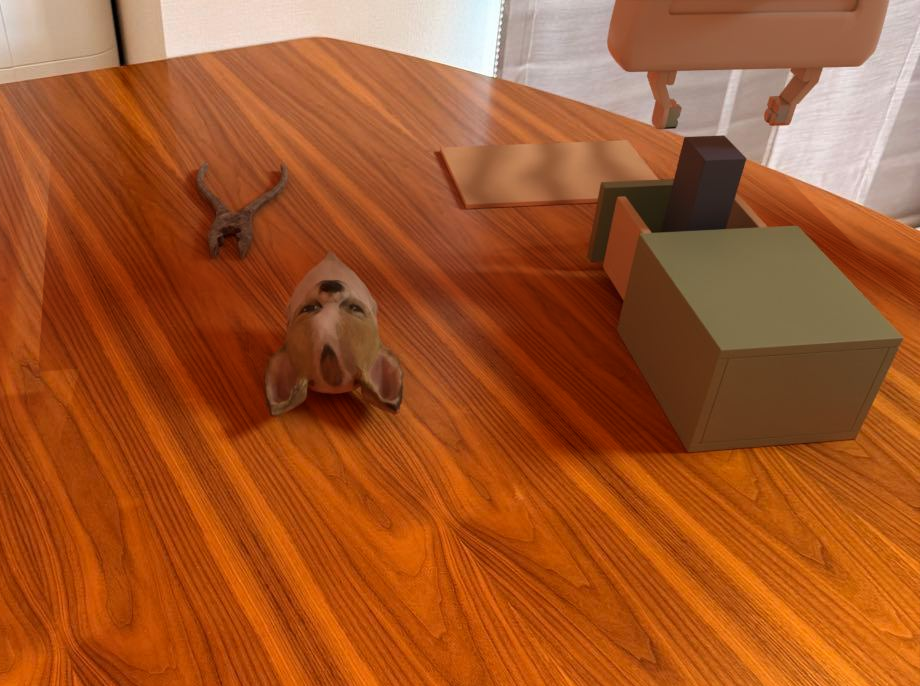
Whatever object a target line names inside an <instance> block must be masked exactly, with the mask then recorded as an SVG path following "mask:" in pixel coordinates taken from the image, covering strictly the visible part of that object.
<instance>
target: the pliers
mask: <svg viewBox="0 0 920 686" xmlns="http://www.w3.org/2000/svg"><path fill="white" fill-rule="evenodd" d="M199 167H200V168H199V169H198V170H197V173H196V178H195V183H196V188H197V190H198V192H199V193H200V195H201V196H202V197H203V198H204V199H205V200H206V201H207V203H209V205H210V206H211V207H212V208H213V209H214V211H215V213H216V214H215V218H214V220H213V221H212V224H211V226H210V228H209V230H208V233H207V234H206V237H207V238H206V240H207V245H208V248H209V249H208V250H209V255H210V258H211V259H214V258H215V257H216V255H217V254H218V252H219V247H220V246H221V245H223V244H224V242H225V238H224V237H227V236H229V235H234V236H235V240H236V245H237V249H238V254H239V258H240V259H244V258H245V255H246V253H247V252H248V250H249V248H250V246H251V244H252V243H253V240H254V236H253V235H254V234H253V231H252V222H253V218H254V215H255V214H256V212H257V211H259V210H260V209H261V208H263V207H264V206H265V205H266V204H268V203H269V202H271V201H272V200H273V199H275V198H276V197H277V196H278V195H280V194H281V192H282V191H283V190H284V189H285V187H286V185H287V182H288V178H289V177H288V169H287V166H286V164H284V163H281V164H280V165H279V169H280V174H281V175H280V179H279V180H278V182H277V184H276V185H275V186H274V187H273V188H271V189H270V190H268V191H266V192H265V193H263V194H262V195H260V196H258V197H257V198H256V199H254V200H252V201H251V202H249V203H248V204H247V205H245V206H244V207H243V208H241V210H238V211H231V210H229V208H228V207H227V205H226V204H225V203H224V201H222V200H221V199H220V198H219V197H218V196H216V195H215V193H213V192H212V191H211V190H210V189H208V187H207V186H206V185H205V183H204V176H205V174H206V172H207V171H208V169H209V164H208V162H207V161H205V162H203V163H202V164H201V165H200V166H199Z"/></svg>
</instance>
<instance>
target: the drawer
mask: <svg viewBox="0 0 920 686" xmlns="http://www.w3.org/2000/svg"><path fill="white" fill-rule="evenodd" d="M673 181H674V178H665V179H663V178H662V179H659V180H638V181H615V182H601V185H600V190H599V195H598V201H597V203H596V206H595V212H594V217H593V223H592V226H591V227H592V228H591V232H590V238H589V243H588V248H587V252H586V258H587V260H588V261H589V263H590V264H596V263H597V264H599V263H602V268H603V270H604V271H605V273H606V275H607V276H608V278H609V280H610V281H611V283H612V285H613V286H614V287H615V290H616V291H617V293H618V294H619V296H620V297H621V299H622V302H624V298H625V293H626V289H627V284H628V280H629V276H630V271H631V267H632V263H633V258H634V254H635V249H636V245H637V241H638V237H639V234H642V233H661V230H662V226H663V222H664V218H665V214H666V210H667V206H668V202H669V197H670V193H671V189H672V185H673ZM758 227H768V225H767V224H766V223H765V222H764V221H763V220H762V219H761V218H760V216H759V215H758V214H757V213H756V212H755V211H754V210H753V209H752V207H751V206H750V205H749V204H748V203H747V202H746V201H745V200H744V199H743V198H742V197H741V196H740V194H739V193H738V192H737V193H736V196H735V200H734V203H733V206H732V210H731V213H730V217H729V220H728V223H727V227H726V229H739V228H758Z"/></svg>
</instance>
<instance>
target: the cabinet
mask: <svg viewBox="0 0 920 686" xmlns="http://www.w3.org/2000/svg"><path fill="white" fill-rule="evenodd" d="M616 332H617V334H618V335H619V337H620V340H622V342H623V345H624V346H625V347H626V349H627V351H628V352H629V354H630V356H631V358H632V359H633V361H634V364H635V365H636V366H637V368H638V370H639V372H640V373H641V375H642V377H643V379H644V380H645V382H646V384H647V385H648V387H649V389H650V391H651V392H652V394H653V396H654V397H655V399H656V401H657V402H658V404H659V406H660V408H661V410H662V411H663V413H664V415H665V416H666V418H667V419H668V422H669V423H670V424H671V427H672V428H673V430H674V432H675V433H676V436H677V437H678V439H679V440H680V442H681V444H682V445H683V447H684V449H685V450H686V452H687V453H688V454H689V453H699V452H712V451H724V450H737V449H747V448H748V449H749V448H750V449H751V448H761V447H762V448H763V447H773V446H786V445H797V444H798V445H799V444H811V443H822V442H823V443H824V442H837V441H848V440H857V438H858V437H859V433H860V431H861V429H862V427H863V426H864V423H865V421H866V419H867V417H868V414H869V412H870V410H871V408H872V406H873V405H874V402H875V400H876V398H877V396H878V393H879V391H880V389H881V387H882V385H883V383H884V380H885V379H886V377H887V374H888V372H889V371H890V368H891V366H892V364H893V362H894V360H895V357H896V356H897V353H898V352H899V350H900V347H901V345H902V343H903V340H904V336H903V335H902V334H901V333H900V332H899V331H898V330H897V329H896V327H894V326H893V325H892V323H890V322H889V320H888V319H887V318H886V317H885V316H884V315H883V314H882V313H881V312H880V311H879V310H878V309H877V308H876V306H874V305H873V303H872V302H871V301H870V300H869V299H868V298H867V297H866V296H865V295H864V293H862V292H861V290H859V289H858V288H857V286H855V285H854V283H853V282H852V281H851V280H850V279H849V278H848V277H847V276H846V274H844V273H843V271H841V269H839V267H838V266H837V265H836V264H835V263H834V262H833V261H832V260H831V258H829V257H828V256H827V255H826V254H825V253H824V252H823V251H822V250H821V248H819V246H818V245H817V244H816V243H815V242H814V241H813V240H812V239H811V238H810V237H809V236H808V235H807V234H806V233H805V232H804V230H802V229H801V227H799V225H781V226H767V227H758V228H739V229H720V230H700V231H681V232H661V233H642V234H639V237H638V241H637V245H636V249H635V254H634V258H633V263H632V267H631V271H630V276H629V280H628V284H627V289H626V293H625V298H624V301H622V307H621V311H620V315H619V320H618V324H617V329H616Z"/></svg>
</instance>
